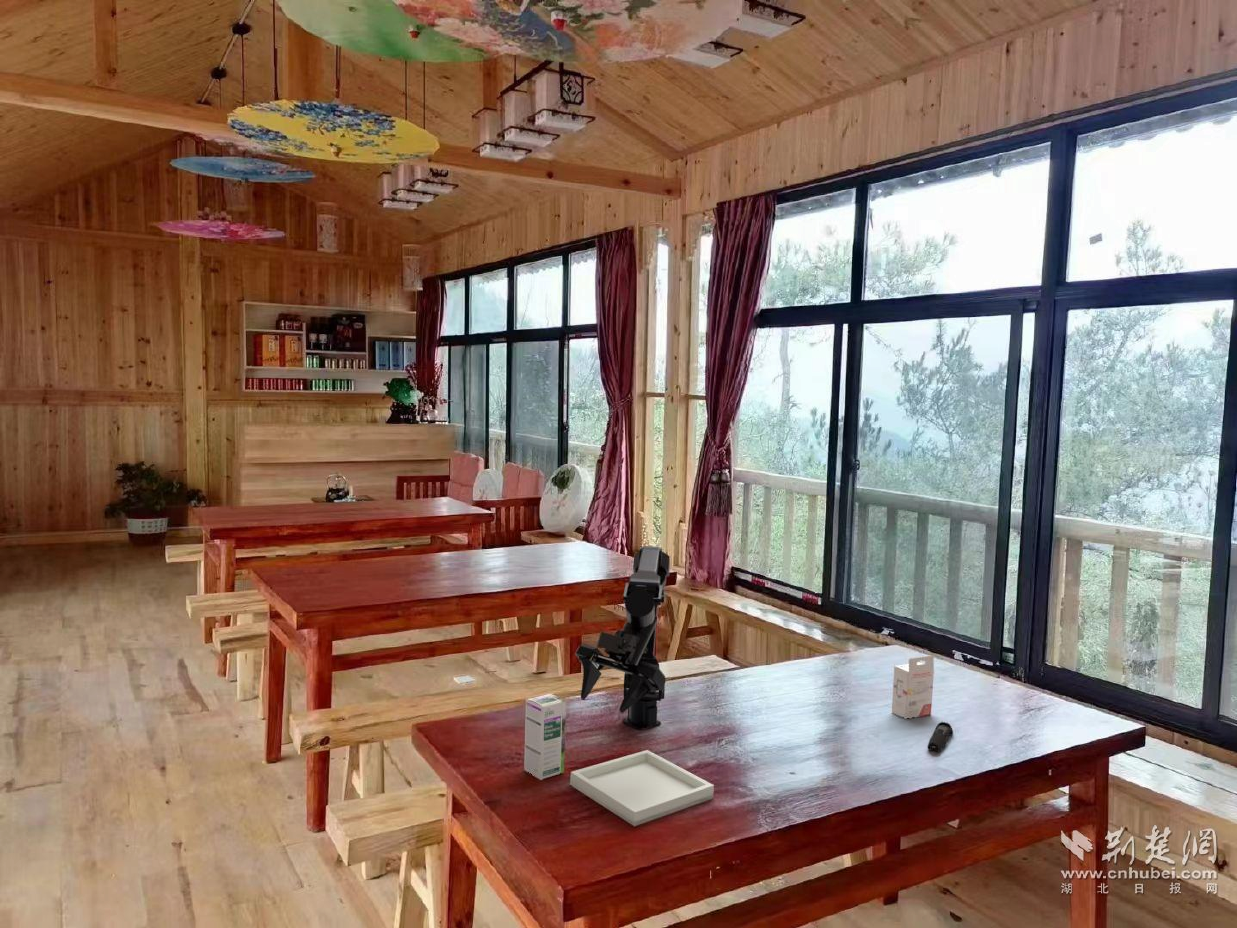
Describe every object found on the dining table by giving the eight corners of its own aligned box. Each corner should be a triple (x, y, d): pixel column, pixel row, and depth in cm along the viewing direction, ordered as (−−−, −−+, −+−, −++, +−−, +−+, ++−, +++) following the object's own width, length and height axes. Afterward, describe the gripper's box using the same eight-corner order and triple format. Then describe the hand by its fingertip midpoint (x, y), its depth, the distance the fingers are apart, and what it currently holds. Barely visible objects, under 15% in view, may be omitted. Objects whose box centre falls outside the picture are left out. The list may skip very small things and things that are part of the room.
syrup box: (540, 780, 166) (543, 706, 165) (522, 769, 170) (525, 697, 169) (564, 773, 170) (567, 700, 169) (546, 762, 174) (549, 691, 173)
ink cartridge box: (915, 708, 216) (920, 649, 215) (931, 715, 211) (936, 655, 210) (890, 712, 212) (894, 653, 211) (905, 719, 207) (909, 659, 206)
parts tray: (570, 784, 165) (570, 771, 165) (646, 761, 177) (647, 749, 177) (634, 826, 150) (635, 812, 150) (713, 798, 162) (713, 785, 162)
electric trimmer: (922, 754, 189) (923, 739, 188) (936, 730, 202) (937, 717, 202) (940, 758, 187) (941, 744, 186) (953, 734, 200) (954, 721, 200)
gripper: (581, 605, 176) (545, 674, 169) (660, 625, 165) (624, 700, 158) (603, 632, 183) (569, 699, 176) (680, 653, 173) (647, 725, 166)
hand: (601, 705), depth 169 cm, fingers open, 9 cm apart
